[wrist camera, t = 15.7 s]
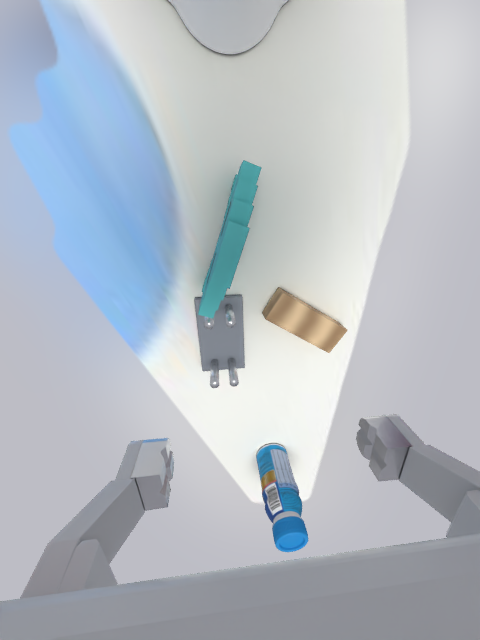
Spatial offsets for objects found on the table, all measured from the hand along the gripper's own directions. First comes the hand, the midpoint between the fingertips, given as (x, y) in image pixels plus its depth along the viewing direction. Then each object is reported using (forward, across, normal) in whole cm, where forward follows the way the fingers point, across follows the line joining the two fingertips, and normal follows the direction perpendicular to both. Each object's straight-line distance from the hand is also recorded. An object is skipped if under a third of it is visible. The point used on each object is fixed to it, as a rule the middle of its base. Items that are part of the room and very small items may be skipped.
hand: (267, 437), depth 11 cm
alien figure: (+39, 0, -5) cm, 40 cm away
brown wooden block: (+40, -15, +12) cm, 44 cm away
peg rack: (+39, +2, +14) cm, 42 cm away
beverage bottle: (+39, -9, +51) cm, 65 cm away
